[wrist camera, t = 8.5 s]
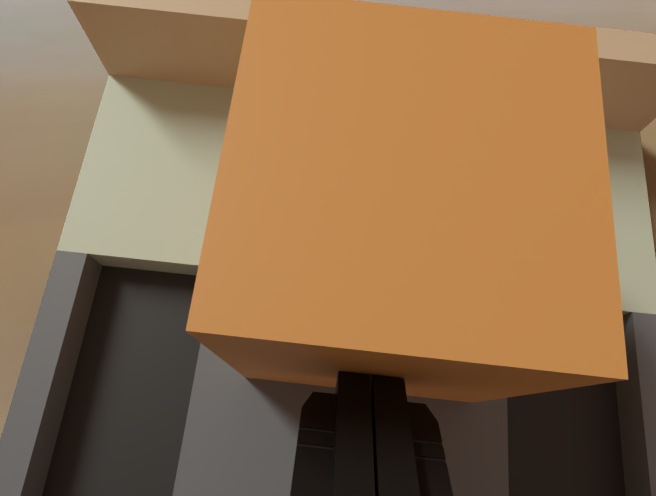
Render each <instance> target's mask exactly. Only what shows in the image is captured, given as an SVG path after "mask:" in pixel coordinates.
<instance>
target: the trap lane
mask: <svg viewBox="0 0 656 496" xmlns="http://www.w3.org/2000/svg"><path fill="white" fill-rule="evenodd" d="M67 1H68V3H69V5H70V6H71V8H72V10H73V12H74V14H75V15H76V17H77V19H78V21H79V22H80V24H81V26H82V28H83V30H84V31H85V33H86V35H87V37H88V38H89V40H90V42H91V44H92V45H93V47H94V49H95V51H96V53H97V54H98V56H99V58H100V60H101V61H102V63H103V65H104V67H105V68H106V70H107V72H108V74H109V76H108V80H107V83H106V86H105V90H104V93H103V97H102V100H101V103H100V107H99V110H98V113H97V117H96V120H95V123H94V127H93V130H92V134H91V137H90V140H89V144H88V147H87V150H86V154H85V157H84V160H83V164H82V167H81V171H80V174H79V177H78V181H77V184H76V187H75V191H74V194H73V197H72V201H71V204H70V208H69V211H68V214H67V218H66V221H65V224H64V228H63V231H62V234H61V238H60V241H59V245H58V248H57V251H56V255H55V258H54V261H53V265H52V268H51V271H50V275H49V278H48V281H47V285H46V288H45V292H44V295H43V298H42V302H41V305H40V308H39V312H38V315H37V318H36V322H35V325H34V329H33V332H32V335H31V339H30V342H29V345H28V349H27V352H26V355H25V359H24V362H23V366H22V369H21V372H20V376H19V379H18V382H17V386H16V389H15V392H14V396H13V399H12V403H11V406H10V409H9V413H8V416H7V419H6V423H5V426H4V429H3V433H2V436H1V440H0V496H290V491H291V484H292V476H293V469H294V461H295V454H296V446H297V439H298V431H299V423H300V416H301V408H302V406H303V404H304V403H305V402H306V400H307V399H308V398H309V396H310V395H311V394H312V392H313V391H314V392H323V393H332V394H335V387H326V386H317V385H308V384H299V383H290V382H281V381H272V380H263V379H254V378H245V377H244V376H243V375H241V374H240V373H239V372H237V371H236V370H235V369H234V368H232V367H231V366H230V365H228V364H227V363H226V362H225V361H223V360H222V359H221V358H220V357H218V356H217V355H216V354H214V353H213V352H212V351H211V350H209V349H208V348H207V347H206V346H204V345H203V344H202V343H200V342H199V341H198V340H197V339H195V338H194V337H193V336H192V335H190V334H189V333H188V332H186V326H187V321H188V316H189V311H190V306H191V301H192V296H193V291H194V286H195V281H196V276H197V271H198V266H199V261H200V256H201V251H202V246H203V241H204V236H205V231H206V226H207V221H208V216H209V211H210V206H211V200H212V195H213V190H214V185H215V180H216V175H217V170H218V165H219V160H220V155H221V150H222V145H223V140H224V135H225V130H226V125H227V120H228V115H229V110H230V105H231V100H232V95H233V90H234V85H235V80H236V75H237V70H238V65H239V60H240V55H241V50H242V45H243V40H244V35H245V30H246V25H247V20H248V15H249V10H250V5H251V0H67ZM561 24H562V23H561ZM570 25H571V24H570ZM579 26H580V25H579ZM589 27H590V26H589ZM596 34H597V45H598V56H599V67H600V77H601V88H602V99H603V110H604V121H605V131H606V142H607V153H608V164H609V175H610V185H611V196H612V207H613V218H614V229H615V239H616V250H617V261H618V272H619V283H620V293H621V304H622V315H623V326H624V337H625V347H626V358H627V369H628V380H624V381H617V382H610V383H603V384H597V385H590V386H583V387H576V388H569V389H563V390H556V391H549V392H542V393H535V394H529V395H522V396H515V397H508V398H501V399H494V400H488V401H481V402H474V403H471V402H462V401H453V400H444V399H435V398H426V397H417V396H407V402H414V403H423V404H426V405H427V407H428V408H429V409H430V411H431V412H432V414H433V415H434V417H435V418H436V419H437V421H438V423H439V428H440V433H441V438H442V446H443V448H444V453H445V458H446V460H445V462H446V463H447V467H448V472H449V477H450V482H451V487H452V492H453V496H656V257H655V249H654V241H653V233H652V225H651V217H650V209H649V201H648V193H647V185H646V176H645V168H644V160H643V152H642V144H641V136H640V131H641V130H643V129H644V128H645V127H646V126H647V125H648V124H649V123H650V122H652V121H653V120H654V119H655V118H656V34H654V33H645V32H636V31H627V30H617V29H608V28H599V27H596Z"/></svg>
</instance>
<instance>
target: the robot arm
mask: <svg viewBox="0 0 656 496" xmlns="http://www.w3.org/2000/svg"><path fill="white" fill-rule="evenodd" d="M445 460H446V458H445V453H444V448H443V446H442V438H441V433H440V428H439V423H438V421H437V419H436V418H435V417H434V415H433V414H432V412H431V411H430V409H429V408H428V407H427V405H426V404H423V403H414V402H407V395H406V387H405V381H404V378H398V377H389V376H380V375H371V377H370V375H369V374H361V373H352V372H343V371H338V374H337V381H336V388H335V394H332V393H323V392H314V391H313V392H312V394H311V395H310V396H309V398H308V399H307V400H306V402H305V403H304V404H303V406H302V408H301V416H300V423H299V431H298V439H297V446H296V454H295V461H294V469H293V476H292V484H291V491H290V496H453V492H452V487H451V482H450V477H449V472H448V467H447V463H446V462H445Z"/></svg>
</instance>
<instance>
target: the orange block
mask: <svg viewBox="0 0 656 496" xmlns="http://www.w3.org/2000/svg"><path fill="white" fill-rule="evenodd" d="M186 332H188V333H189V334H190V335H192V336H193V337H194V338H195V339H197V340H198V341H199V342H200V343H202V344H203V345H204V346H206V347H207V348H208V349H209V350H211V351H212V352H213V353H214V354H216V355H217V356H218V357H220V358H221V359H222V360H223V361H225V362H226V363H227V364H228V365H230V366H231V367H232V368H234V369H235V370H236V371H237V372H239V373H240V374H241V375H243V376H244V377H245V378H254V379H263V380H272V381H281V382H290V383H299V384H308V385H317V386H326V387H335V388H336V381H337V374H338V371H343V372H352V373H361V374H369V375H370V377H371V375H380V376H389V377H398V378H404V381H405V387H406V395H407V396H417V397H426V398H435V399H444V400H453V401H462V402H471V403H474V402H481V401H488V400H494V399H501V398H508V397H515V396H522V395H529V394H535V393H542V392H549V391H556V390H563V389H569V388H576V387H583V386H590V385H597V384H603V383H610V382H617V381H624V380H628V369H627V358H626V347H625V337H624V326H623V315H622V304H621V293H620V283H619V272H618V261H617V250H616V239H615V229H614V218H613V207H612V196H611V185H610V175H609V164H608V153H607V142H606V131H605V121H604V110H603V99H602V88H601V77H600V67H599V56H598V45H597V34H596V27H589V26H579V25H570V24H561V23H552V22H543V21H534V20H525V19H516V18H507V17H498V16H489V15H480V14H471V13H462V12H453V11H444V10H435V9H426V8H417V7H408V6H399V5H390V4H381V3H372V2H363V1H354V0H251V5H250V10H249V15H248V20H247V25H246V30H245V35H244V40H243V45H242V50H241V55H240V60H239V65H238V70H237V75H236V80H235V85H234V90H233V95H232V100H231V105H230V110H229V115H228V120H227V125H226V130H225V135H224V140H223V145H222V150H221V155H220V160H219V165H218V170H217V175H216V180H215V185H214V190H213V195H212V200H211V206H210V211H209V216H208V221H207V226H206V231H205V236H204V241H203V246H202V251H201V256H200V261H199V266H198V271H197V276H196V281H195V286H194V291H193V296H192V301H191V306H190V311H189V316H188V321H187V326H186Z"/></svg>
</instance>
